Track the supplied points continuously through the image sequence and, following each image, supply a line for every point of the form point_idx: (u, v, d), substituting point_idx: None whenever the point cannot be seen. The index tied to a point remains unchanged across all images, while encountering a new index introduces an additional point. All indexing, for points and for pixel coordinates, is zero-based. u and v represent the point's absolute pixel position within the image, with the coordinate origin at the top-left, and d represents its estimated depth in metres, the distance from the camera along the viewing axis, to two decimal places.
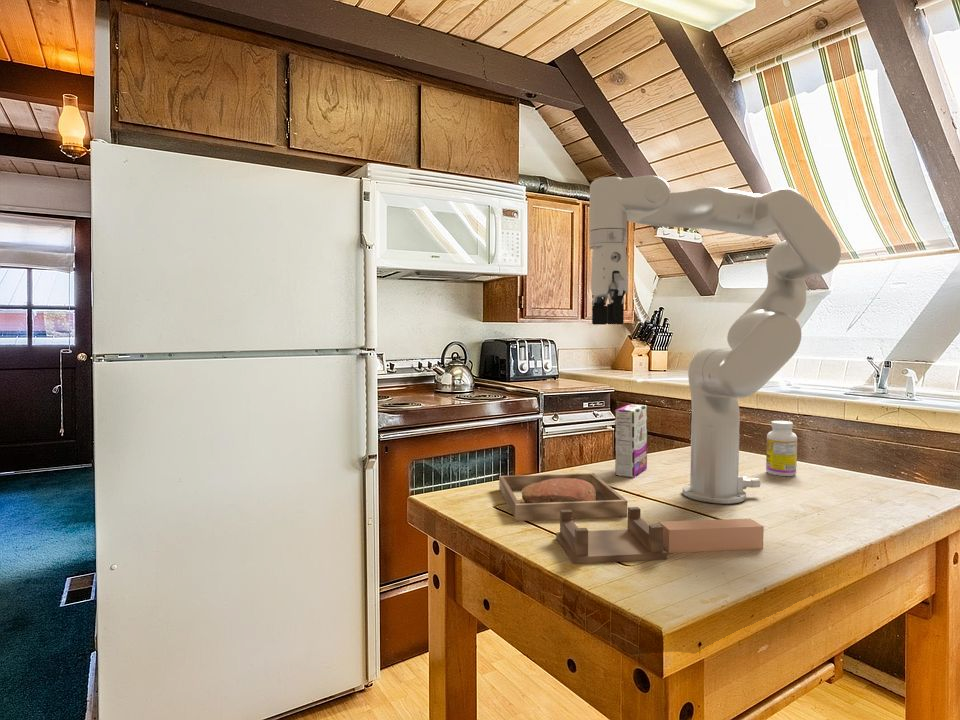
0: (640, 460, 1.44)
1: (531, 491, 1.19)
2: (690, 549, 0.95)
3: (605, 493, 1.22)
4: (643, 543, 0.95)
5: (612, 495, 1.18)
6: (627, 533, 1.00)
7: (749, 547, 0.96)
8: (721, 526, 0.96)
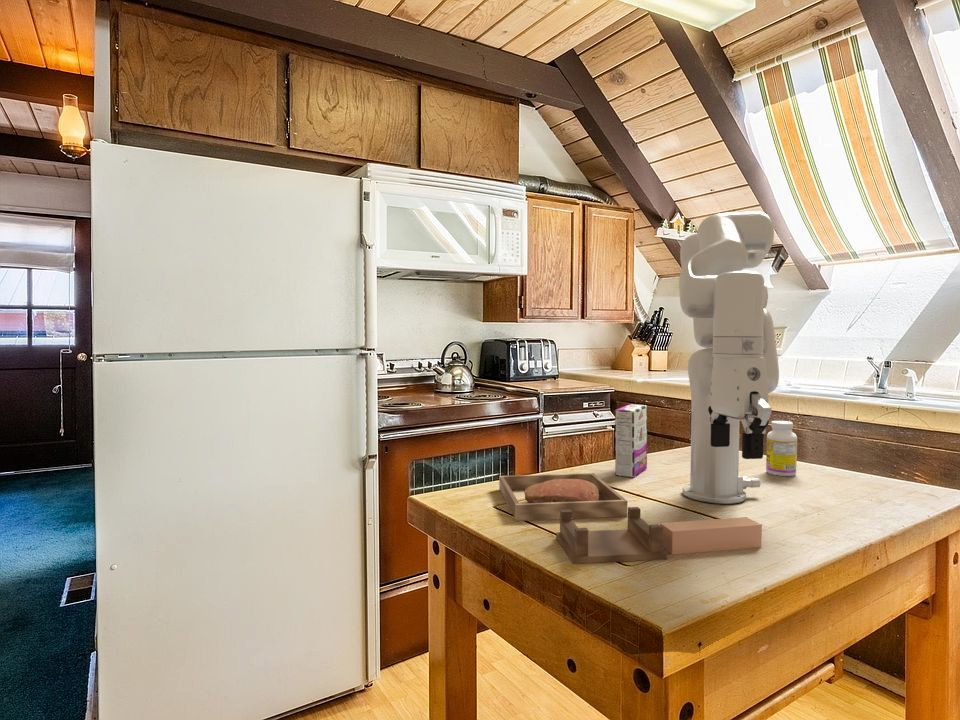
0: (640, 460, 1.44)
1: (534, 492, 1.18)
2: (692, 550, 0.94)
3: (605, 493, 1.22)
4: (643, 543, 0.95)
5: (612, 495, 1.18)
6: (627, 533, 1.00)
7: (748, 546, 0.96)
8: (721, 526, 0.96)
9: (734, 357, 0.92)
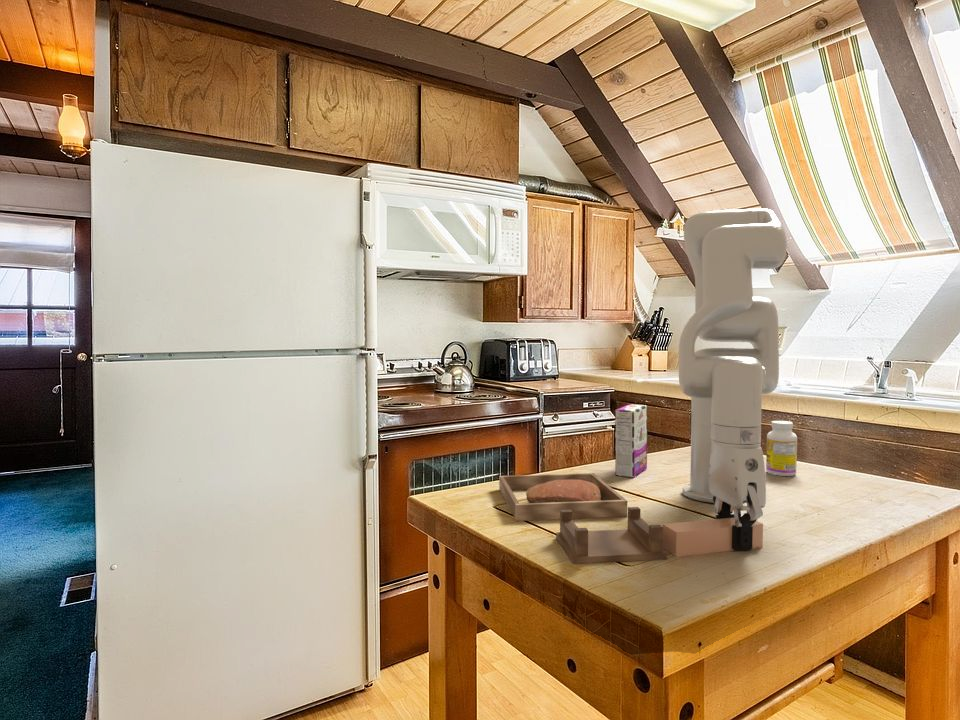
0: (640, 460, 1.44)
1: (536, 492, 1.18)
2: (696, 551, 0.94)
3: (605, 493, 1.22)
4: (643, 543, 0.95)
5: (612, 495, 1.18)
6: (627, 533, 1.00)
7: None
8: (724, 526, 0.95)
9: (732, 447, 0.93)
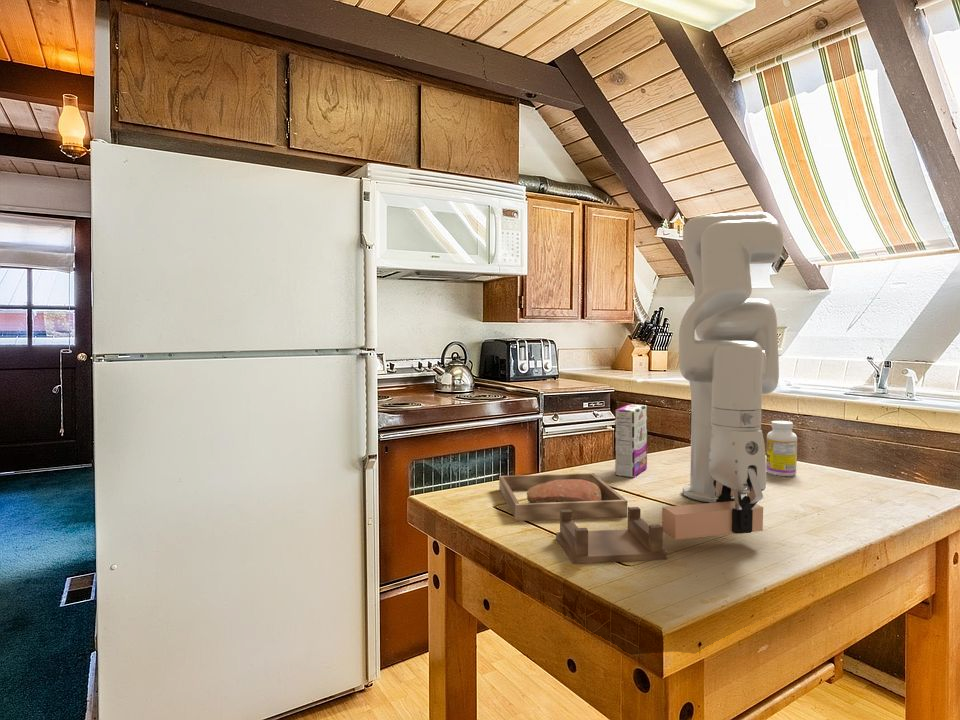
0: (640, 460, 1.44)
1: (536, 492, 1.18)
2: (695, 533, 0.94)
3: (605, 493, 1.22)
4: (643, 543, 0.95)
5: (612, 495, 1.18)
6: (627, 533, 1.00)
7: None
8: (723, 508, 0.95)
9: (732, 430, 0.93)
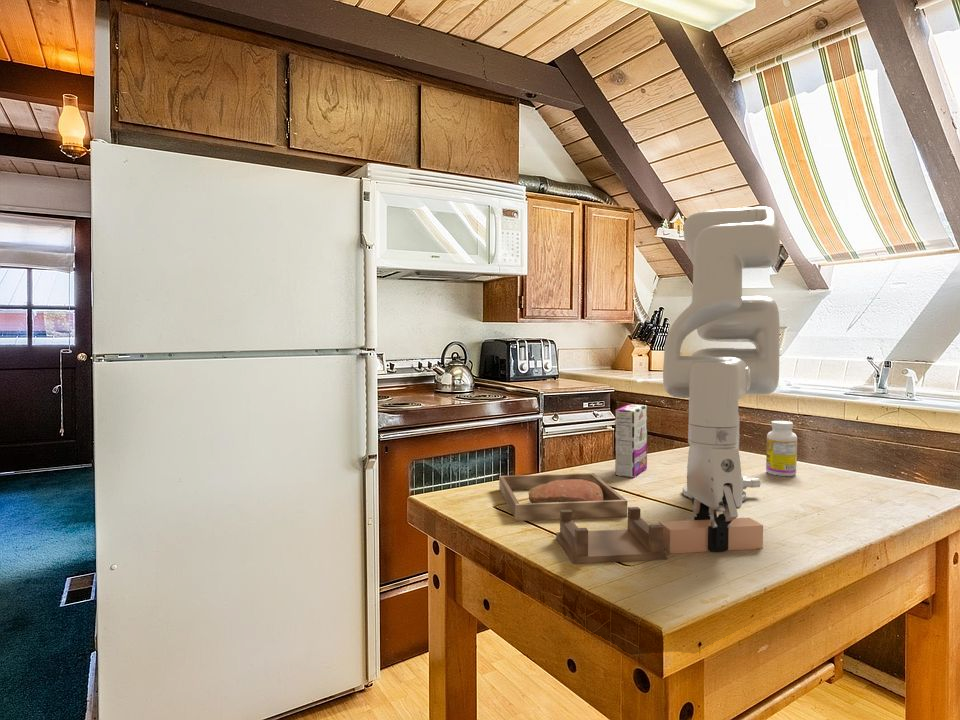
0: (640, 460, 1.44)
1: (538, 493, 1.18)
2: (691, 549, 0.94)
3: (605, 493, 1.22)
4: (643, 543, 0.95)
5: (612, 495, 1.18)
6: (627, 533, 1.00)
7: (749, 546, 0.96)
8: None
9: (708, 447, 0.93)
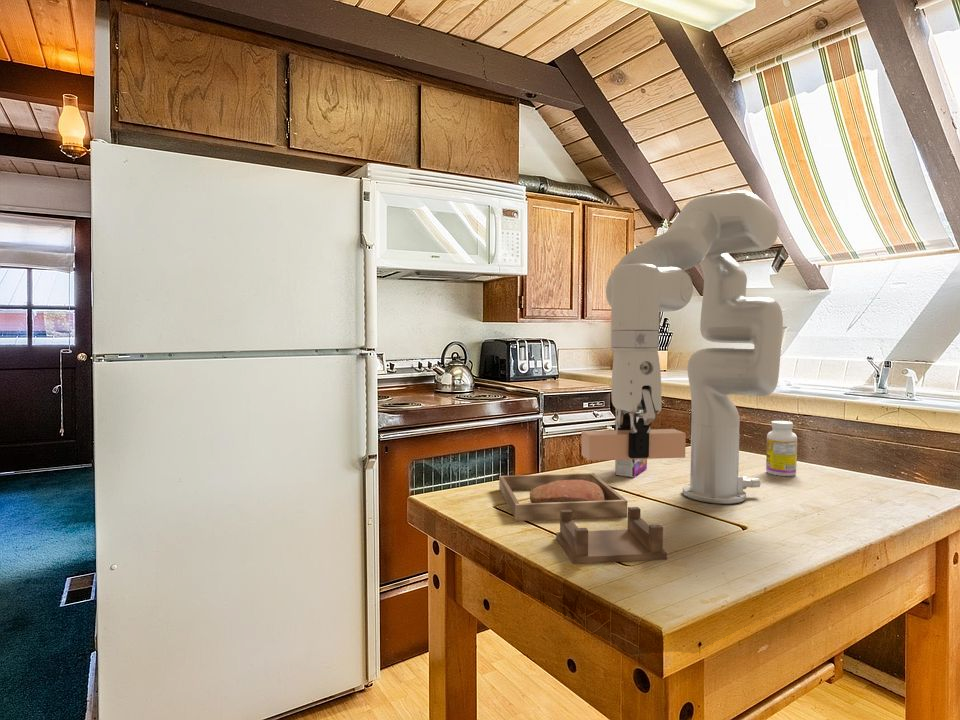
0: (640, 460, 1.44)
1: (540, 493, 1.17)
2: (611, 456, 0.93)
3: (605, 493, 1.22)
4: (643, 543, 0.95)
5: (612, 495, 1.18)
6: (627, 533, 1.00)
7: (671, 454, 0.94)
8: None
9: (628, 351, 0.91)
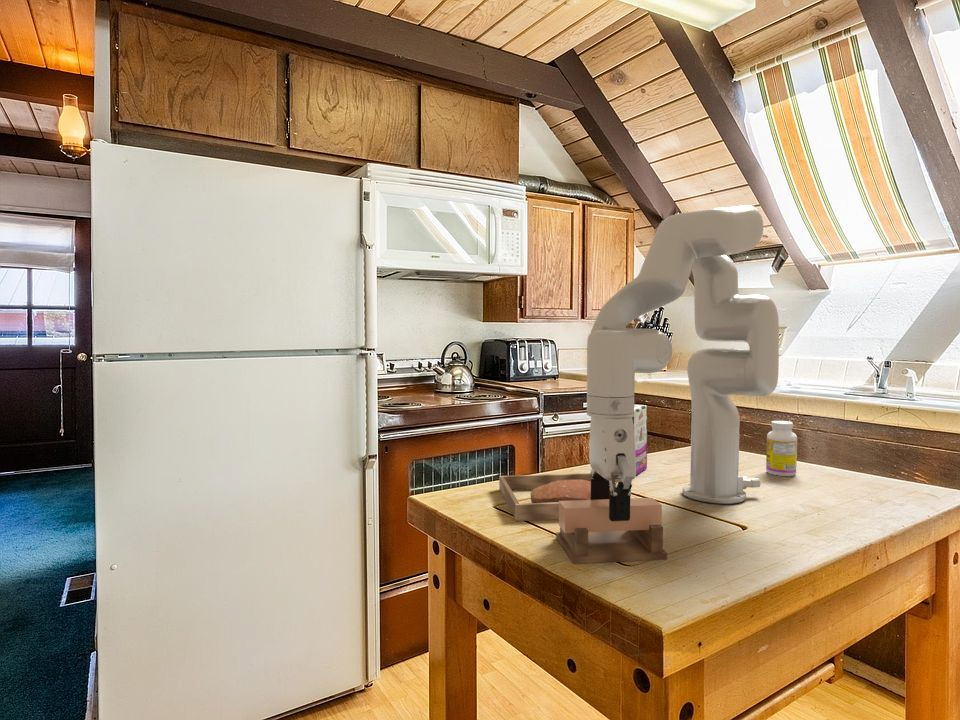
0: (640, 460, 1.44)
1: (541, 494, 1.17)
2: None
3: None
4: (643, 543, 0.95)
5: None
6: (627, 533, 1.00)
7: (647, 526, 0.95)
8: None
9: (602, 418, 0.92)
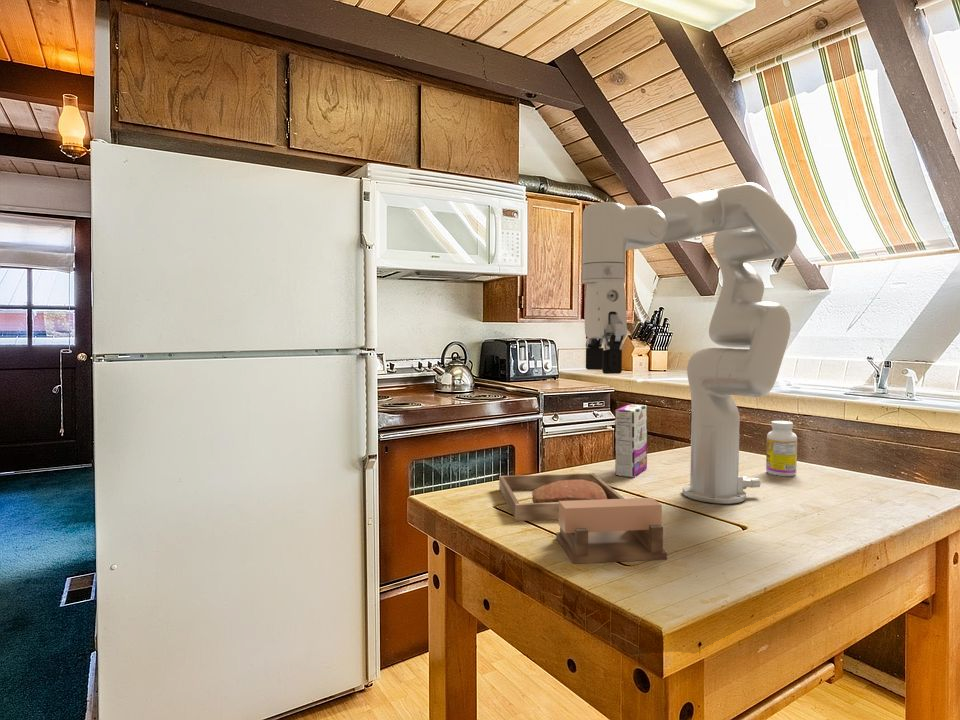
0: (640, 460, 1.44)
1: (543, 494, 1.17)
2: None
3: None
4: (643, 543, 0.95)
5: (612, 495, 1.18)
6: (627, 533, 1.00)
7: (647, 526, 0.95)
8: (619, 505, 0.95)
9: (596, 281, 1.01)
